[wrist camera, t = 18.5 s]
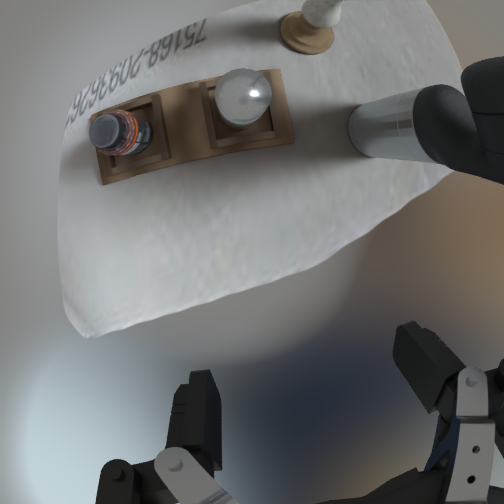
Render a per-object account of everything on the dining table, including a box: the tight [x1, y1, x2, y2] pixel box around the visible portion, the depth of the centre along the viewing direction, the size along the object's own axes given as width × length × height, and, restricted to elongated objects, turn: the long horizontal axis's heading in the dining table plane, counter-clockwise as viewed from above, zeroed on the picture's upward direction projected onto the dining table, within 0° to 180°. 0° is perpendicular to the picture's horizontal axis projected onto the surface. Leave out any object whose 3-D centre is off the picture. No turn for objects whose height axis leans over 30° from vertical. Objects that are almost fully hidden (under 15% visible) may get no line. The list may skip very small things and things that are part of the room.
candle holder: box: [280, 0, 344, 54], centre depth 22 cm, size 9×9×20 cm
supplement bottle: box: [90, 109, 153, 155], centre depth 30 cm, size 6×6×11 cm
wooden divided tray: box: [91, 69, 294, 185], centre depth 34 cm, size 30×12×3 cm, turn 100°
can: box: [215, 69, 272, 130], centre depth 30 cm, size 6×6×11 cm
